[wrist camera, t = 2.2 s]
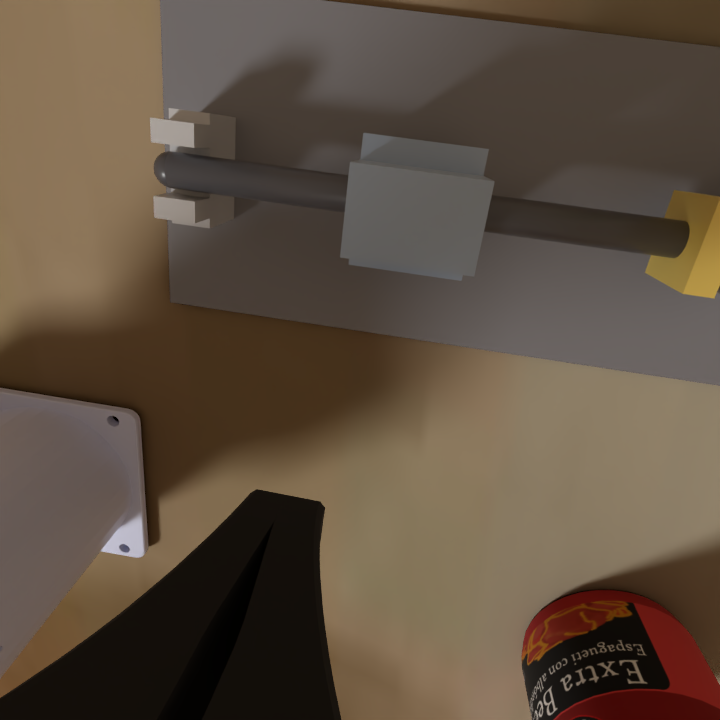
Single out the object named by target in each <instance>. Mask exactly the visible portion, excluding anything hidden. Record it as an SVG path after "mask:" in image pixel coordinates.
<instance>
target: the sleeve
mask: <svg viewBox="0 0 720 720" xmlns="http://www.w3.org/2000/svg"><path fill="white" fill-rule="evenodd" d="M488 151H489V149H484V148H476V147H469V146H461V145H454V144H446V143H438V142H431V141H423V140H415V139H408V138H400V137H392V136H385V135H377V134H370V133H363V140H362V149H361V158H360V160H356V161H352V162H350V166H349V176H348V185H347V195H346V204H345V214H344V224H343V233H342V243H341V252H340V257H341V258H348V259H349V265H355V266H362V267H369V268H376V269H383V270H390V271H397V272H403V273H410V274H417V275H424V276H431V277H438V278H445V279H452V280H459V281H462V277H463V275H465V276H472V277H474V275H475V271H476V266H477V261H478V257H479V252H480V247H481V243H482V238H483V233H484V229H485V224H486V220H487V215H488V210H489V206H490V201H491V196H492V192H493V187H494V183H495V181H493V180H491V179H489V178H487V177H485V176H483V175H484V171H485V166H486V161H487V156H488Z"/></svg>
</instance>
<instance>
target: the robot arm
mask: <svg viewBox="0 0 720 720" xmlns="http://www.w3.org/2000/svg"><path fill="white" fill-rule="evenodd" d="M113 416H115V417H116V418H117V419H118V420H119V422H118V421H115V420H114V419H113ZM324 511H325V507H324V506H323V505H322V503H321V502H319V501H314V500H309V499H304V498H299V497H294V496H289V495H283V494H278V493H273V492H268V491H263V490H258V489H257V490H255V491H253V492H252V493H250V494H249V495H248V496H247V498H246V499H245V500H244V501H243V502H242V503H241V504H240V505H239V506H238V507H237V508H236V509H235V510H234V511H233V513H232V514H231V515H230V516H229V517H228V518H227V519H226V520H225V521H224V522H223V523H222V524H221V525H220V526H219V527H218V528H217V529H216V530H215V531H214V532H213V533H212V534H211V535H210V536H209V537H207V538H206V539H205V540H204V541H203V542H202V543H201V544H200V545H199V546H198V547H197V548H196V549H195V550H193V551H192V552H191V553H190V554H189V555H188V556H187V557H186V558H185V559H184V560H183V561H182V562H181V563H179V564H178V565H177V566H176V567H175V568H174V569H173V570H172V571H171V572H169V573H168V574H167V575H166V576H165V577H163V578H162V579H161V580H160V581H159V582H158V583H156V584H155V585H154V586H153V587H152V588H150V589H149V590H148V591H147V592H146V593H144V594H143V595H142V596H141V597H140V598H138V599H137V600H136V601H135V602H134V603H132V604H131V605H130V606H129V607H128V608H126V609H125V610H124V611H123V612H121V613H120V614H119V615H117V616H116V617H115V618H114V619H112V620H111V621H110V622H108V623H107V624H106V625H104V626H103V627H102V628H101V629H99V630H98V631H97V632H95V633H94V634H93V635H91V636H90V637H88V638H87V639H86V640H84V641H83V642H82V643H80V644H79V645H77V646H76V647H75V648H73V649H72V650H71V651H69V652H68V653H66V654H65V655H64V656H62V657H61V658H59V659H58V660H56V661H55V662H53V663H52V664H50V665H49V666H47V667H46V668H44V669H43V670H41V671H40V672H39V673H37V674H36V675H34V676H33V677H31V678H30V679H28V680H27V681H25V682H24V683H22V684H21V685H19V686H18V687H16V688H15V689H13V690H12V691H10V692H9V693H7V694H6V695H4V696H3V697H1V698H0V720H341V716H340V711H339V706H338V701H337V696H336V692H335V687H334V681H333V676H332V670H331V664H330V658H329V652H328V645H327V638H326V631H325V623H324V615H323V606H322V593H321V580H320V540H321V533H322V525H323V518H324ZM126 545H127V546H126ZM147 550H148V531H147V516H146V500H145V485H144V469H143V453H142V438H141V422H140V418H139V416H138V414H137V413H136V412H135V411H133V410H131V409H127V408H121V407H115V406H109V405H103V404H97V403H91V402H84V401H78V400H72V399H66V398H60V397H54V396H48V395H42V394H36V393H29V392H23V391H17V390H11V389H5V388H0V678H1V677H2V676H3V674H4V673H5V672H6V671H7V669H8V668H9V667H10V665H11V664H12V663H13V662H14V660H15V659H16V658H17V657H18V655H19V654H20V653H21V652H22V650H23V649H24V648H25V646H26V645H27V644H28V643H29V641H30V640H31V639H32V638H33V636H34V635H35V634H36V632H37V631H38V630H39V629H40V627H41V626H42V625H43V624H44V622H45V621H46V620H47V618H48V617H49V616H50V615H51V613H52V612H53V611H54V610H55V608H56V607H57V606H58V605H59V603H60V602H61V601H62V599H63V598H64V597H65V596H66V594H67V593H68V592H69V591H70V589H71V588H72V587H73V585H74V584H75V583H76V582H77V580H78V579H79V578H80V577H81V575H82V574H83V573H84V571H85V570H86V569H87V568H88V566H89V565H90V564H91V563H92V561H93V560H94V559H95V558H96V556H97V555H98V554H99V552H100V551H103V552H108V553H114V554H119V555H125V556H130V557H142V556H144V554H145V553H146V552H147Z"/></svg>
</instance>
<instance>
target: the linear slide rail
mask: <svg viewBox="0 0 720 720" xmlns="http://www.w3.org/2000/svg"><path fill="white" fill-rule="evenodd" d="M160 11H161V41H162V71H163V102H164V119H158V118H150V128H151V142H154V143H162V144H165V152H163V153H161V154H160V155H159V156H158V157H157V158H156V160H155V162H154V173H155V176H156V177H157V179H158V180H159V182H160V183H162V184H163V185H164V186H166V194H161V195H156V196H153V198H154V218H160V219H167V223H168V254H169V284H170V302H172V303H178V304H185V305H192V306H198V307H205V308H211V309H218V310H225V311H231V312H238V313H244V314H251V315H258V316H264V317H271V318H277V319H284V320H291V321H297V322H304V323H310V324H317V325H323V326H330V327H337V328H343V329H350V330H356V331H363V332H370V333H376V334H383V335H389V336H396V337H403V338H409V339H416V340H422V341H429V342H436V343H442V344H449V345H455V346H462V347H469V348H475V349H482V350H488V351H495V352H501V353H508V354H515V355H521V356H528V357H534V358H541V359H548V360H554V361H561V362H567V363H574V364H581V365H587V366H594V367H600V368H607V369H614V370H620V371H627V372H633V373H640V374H647V375H653V376H660V377H666V378H673V379H679V380H686V381H693V382H699V383H706V384H712V385H719V386H720V47H715V46H707V45H698V44H690V43H681V42H673V41H664V40H656V39H647V38H639V37H630V36H622V35H613V34H605V33H596V32H588V31H579V30H571V29H562V28H554V27H545V26H537V25H528V24H520V23H511V22H503V21H494V20H486V19H477V18H469V17H460V16H452V15H443V14H435V13H426V12H418V11H410V10H401V9H393V8H384V7H376V6H367V5H359V4H350V3H342V2H333V1H325V0H160ZM363 133H370V134H377V135H385V136H392V137H400V138H408V139H415V140H423V141H431V142H438V143H446V144H454V145H461V146H469V147H476V148H484V149H489V151H488V156H487V161H486V166H485V171H484V175H483V176H485V177H487V178H489V179H491V180H493V181H495V183H494V187H493V192H492V196H491V201H490V206H489V210H488V215H487V220H486V224H485V229H484V233H483V238H482V243H481V247H480V252H479V257H478V261H477V266H476V271H475V275H474V277H472V276H465V275H463V277H462V281H459V280H452V279H445V278H438V277H431V276H424V275H417V274H410V273H403V272H397V271H390V270H383V269H376V268H369V267H362V266H355V265H349V259H348V258H341V257H340V252H341V243H342V233H343V224H344V214H345V204H346V195H347V185H348V176H349V166H350V162H352V161H356V160H360V158H361V149H362V140H363Z"/></svg>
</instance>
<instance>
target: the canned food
mask: <svg viewBox="0 0 720 720" xmlns="http://www.w3.org/2000/svg"><path fill="white" fill-rule="evenodd" d="M522 670H523V675H524V680H525V685H526V691H527V696H528V701H529V706H530V712H531V717H532V720H720V685H719V683H718V681H717V680H716V678H715V676H714V674H713V672H712V671H711V669H710V667H709V665H708V664H707V662H706V660H705V658H704V656H703V655H702V653H701V651H700V649H699V648H698V646H697V644H696V642H695V640H694V639H693V637H692V635H691V634H690V633H689V632H688V631H687V630H686V628H685V627H684V626H683V625H682V624H681V623H680V622H679V621H678V620H677V619H676V618H675V617H674V616H673V615H672V614H671V613H670V612H669V611H667V610H666V609H665V608H663V607H662V606H661V605H659V604H658V603H656V602H654V601H652V600H650V599H648V598H646V597H643V596H639V595H636V594H633V593H629V592H623V591H615V590H593V591H586V592H580V593H576V594H573V595H570V596H566V597H563V598H561V599H559V600H557V601H555V602H553V603H551V604H550V605H548V606H547V607H546V608H544V609H543V610H542V611H540V612H539V613H538V614H537V615H536V617H535V618H534V619H533V620H532V621H531V623H530V625H529V627H528V628H527V630H526V633H525V638H524V642H523V650H522Z"/></svg>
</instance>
